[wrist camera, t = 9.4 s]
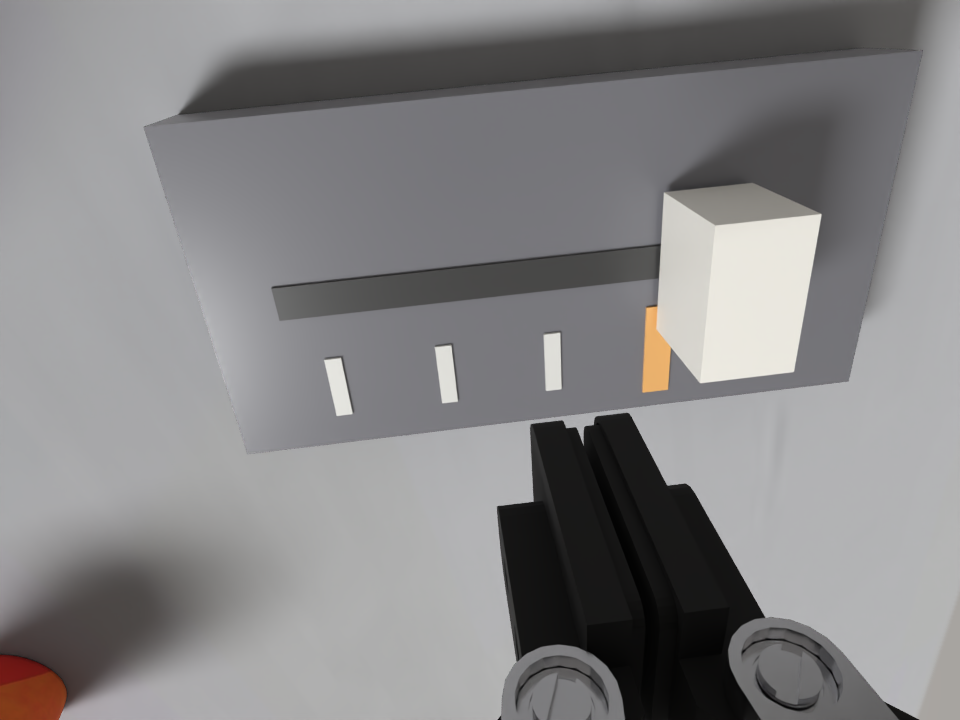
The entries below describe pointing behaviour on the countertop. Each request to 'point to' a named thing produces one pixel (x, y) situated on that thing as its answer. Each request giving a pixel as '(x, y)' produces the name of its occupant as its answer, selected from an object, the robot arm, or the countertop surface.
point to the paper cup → (29, 690)
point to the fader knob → (734, 279)
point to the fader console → (511, 237)
